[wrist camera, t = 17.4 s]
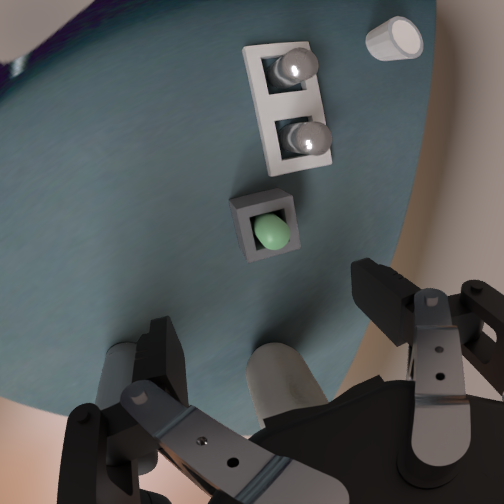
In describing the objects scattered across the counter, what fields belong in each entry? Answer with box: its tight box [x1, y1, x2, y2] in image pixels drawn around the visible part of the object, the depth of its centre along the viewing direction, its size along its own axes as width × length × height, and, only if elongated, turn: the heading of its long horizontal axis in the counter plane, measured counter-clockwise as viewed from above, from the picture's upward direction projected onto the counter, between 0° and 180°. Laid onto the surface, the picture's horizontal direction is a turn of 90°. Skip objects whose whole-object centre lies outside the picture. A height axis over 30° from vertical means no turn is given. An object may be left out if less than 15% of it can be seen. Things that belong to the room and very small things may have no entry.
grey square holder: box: [229, 188, 301, 263], centre depth 40 cm, size 7×7×6 cm
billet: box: [279, 121, 332, 156], centre depth 36 cm, size 4×4×8 cm
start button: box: [250, 211, 290, 250], centre depth 38 cm, size 4×4×6 cm
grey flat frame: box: [242, 41, 332, 177], centre depth 38 cm, size 18×9×2 cm, turn 11°
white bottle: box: [246, 343, 329, 429], centre depth 39 cm, size 10×10×28 cm
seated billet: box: [266, 47, 319, 89], centre depth 33 cm, size 4×4×8 cm
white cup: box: [366, 16, 423, 61], centre depth 34 cm, size 7×7×7 cm
